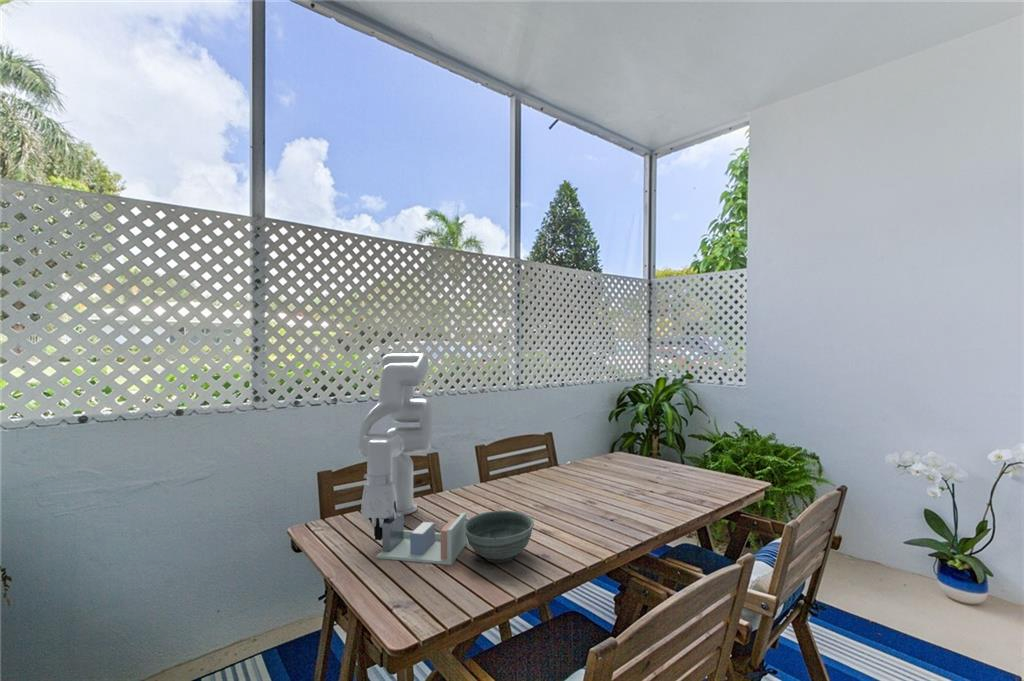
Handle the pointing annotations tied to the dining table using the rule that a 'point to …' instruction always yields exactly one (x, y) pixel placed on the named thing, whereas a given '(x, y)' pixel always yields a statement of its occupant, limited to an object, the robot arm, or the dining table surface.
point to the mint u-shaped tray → (440, 552)
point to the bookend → (392, 532)
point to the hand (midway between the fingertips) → (379, 538)
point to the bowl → (499, 534)
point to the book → (422, 538)
